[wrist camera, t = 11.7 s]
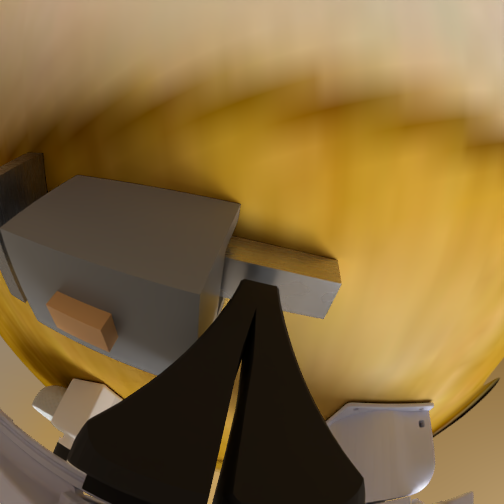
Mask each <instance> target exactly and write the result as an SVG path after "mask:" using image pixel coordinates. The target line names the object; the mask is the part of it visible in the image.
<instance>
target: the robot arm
mask: <svg viewBox="0 0 504 504" xmlns="http://www.w3.org/2000/svg"><path fill="white" fill-rule="evenodd" d="M241 360H242V364H241V372H240V380H239V389H238V397H237V403H236V409H235V414H234V418H233V422H232V427H231V431H230V435H229V439H228V443H227V448H226V452H225V456H224V460H223V464H222V468H221V472H220V476H219V480H218V483H217V487H216V491H215V495H214V498H213V502H212V504H410V497H406V498H402V499H397V500H392V501H387V502H385V501H386V500H391V499H396V498H400V497H405V496H408V495H413V494H415V493H418V492H419V491H421V490H422V489H423V488H425V487H426V486H427V485H428V483H429V482H430V480H431V478H432V475H433V472H434V467H435V455H434V445H433V436H432V429H431V422H430V416H429V410H431V409H432V408H433V407H434V404H433V403H410V404H378V403H354V402H351V403H347V404H346V405H344V406H343V407H342V408H341V409H340V410H339V411H338V412H336V413H335V414H334V415H333V416H332V417H330V418H329V419H328V420H327V421H326V422H325V420H324V418H323V417H322V415H321V413H320V411H319V410H318V408H317V406H316V404H315V402H314V400H313V398H312V396H311V394H310V392H309V389H308V387H307V385H306V383H305V380H304V378H303V376H302V373H301V371H300V368H299V365H298V363H297V360H296V357H295V354H294V351H293V348H292V345H291V342H290V338H289V335H288V331H287V328H286V324H285V320H284V316H283V311H282V306H281V301H280V293H279V288H278V287H277V286H273V285H269V284H265V283H260V282H256V281H252V280H248V279H243V280H241V281H240V283H239V285H238V287H237V289H236V291H235V293H234V294H233V296H232V297H231V299H230V300H229V302H228V303H227V305H226V306H225V307H224V309H223V310H222V311H221V313H220V314H219V315H218V317H217V318H216V319H215V320H214V322H213V323H212V324H211V325H210V326H209V327H208V328H207V330H206V331H205V332H204V333H203V334H202V335H201V336H200V337H199V338H198V340H197V341H196V342H195V343H194V344H193V345H192V346H191V347H190V348H189V349H188V350H187V351H186V352H185V353H183V354H182V355H181V356H180V357H179V358H178V359H177V360H176V361H175V362H174V363H172V364H171V365H170V366H169V367H168V368H166V369H165V370H164V371H163V372H162V373H160V374H159V375H158V376H157V377H155V378H154V379H153V380H151V381H150V382H149V383H147V384H146V385H144V386H143V387H141V388H140V389H139V390H137V391H136V392H134V393H133V394H131V395H130V396H128V397H127V398H125V399H124V400H122V401H120V402H119V403H117V404H115V405H114V406H112V407H110V408H108V409H106V410H105V411H103V412H101V413H99V414H97V415H95V416H94V417H92V418H90V419H89V420H87V422H86V423H85V424H84V425H83V427H82V428H81V430H80V431H79V433H78V434H77V436H76V438H75V440H74V442H73V444H72V447H71V449H70V452H69V454H68V457H67V459H68V462H69V463H70V464H69V463H68V462H66V461H65V460H63V459H61V458H60V457H58V456H57V455H55V454H54V453H52V452H51V451H49V450H48V449H46V448H45V447H44V446H42V445H41V444H39V443H38V442H37V441H35V440H34V439H33V438H31V437H30V436H29V435H28V434H26V433H25V432H24V431H22V430H21V429H20V428H19V427H18V426H17V425H15V424H14V423H13V420H12V419H11V418H10V417H8V416H7V415H6V414H5V413H4V412H3V411H2V410H1V409H0V503H1V504H207V502H208V498H209V493H210V489H211V484H212V480H213V475H214V471H215V467H216V462H217V458H218V453H219V448H220V444H221V439H222V435H223V430H224V426H225V421H226V417H227V412H228V408H229V403H230V399H231V394H232V390H233V385H234V381H235V378H236V375H237V372H238V369H239V366H240V363H241ZM71 464H72V465H71ZM74 466H75V467H74ZM83 492H85V493H87V494H89V495H91V496H93V497H91V496H87V495H84V494H83ZM412 504H424V503H423V502H422V501H419V499H418V498H417V499H413V500H412ZM434 504H473V492H472V491H471V492H468V493H465V494H462V495H460V496H457V497H455V498H452V499H449V500H445V501H441V502H437V503H434Z"/></svg>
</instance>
